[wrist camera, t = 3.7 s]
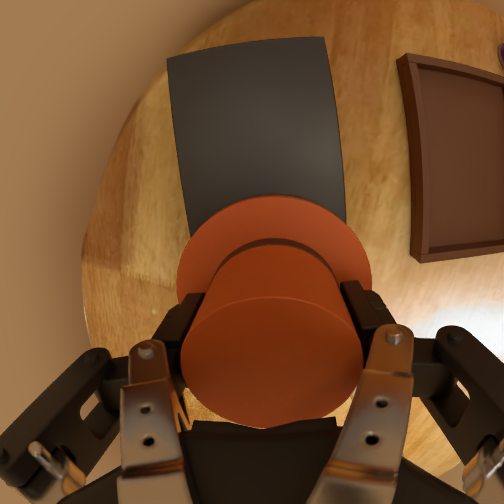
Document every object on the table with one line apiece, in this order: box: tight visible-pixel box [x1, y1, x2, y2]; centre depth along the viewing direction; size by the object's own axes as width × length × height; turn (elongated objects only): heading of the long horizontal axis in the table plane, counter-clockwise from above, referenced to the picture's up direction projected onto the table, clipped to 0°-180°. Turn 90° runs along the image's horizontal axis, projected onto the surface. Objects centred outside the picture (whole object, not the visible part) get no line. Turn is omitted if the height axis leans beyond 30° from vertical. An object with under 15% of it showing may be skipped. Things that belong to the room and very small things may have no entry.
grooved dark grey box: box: [167, 37, 346, 237], centre depth 17 cm, size 14×7×11 cm, turn 7°
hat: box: [176, 195, 372, 428], centre depth 11 cm, size 9×9×6 cm
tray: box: [396, 53, 504, 263], centre depth 19 cm, size 18×14×2 cm
